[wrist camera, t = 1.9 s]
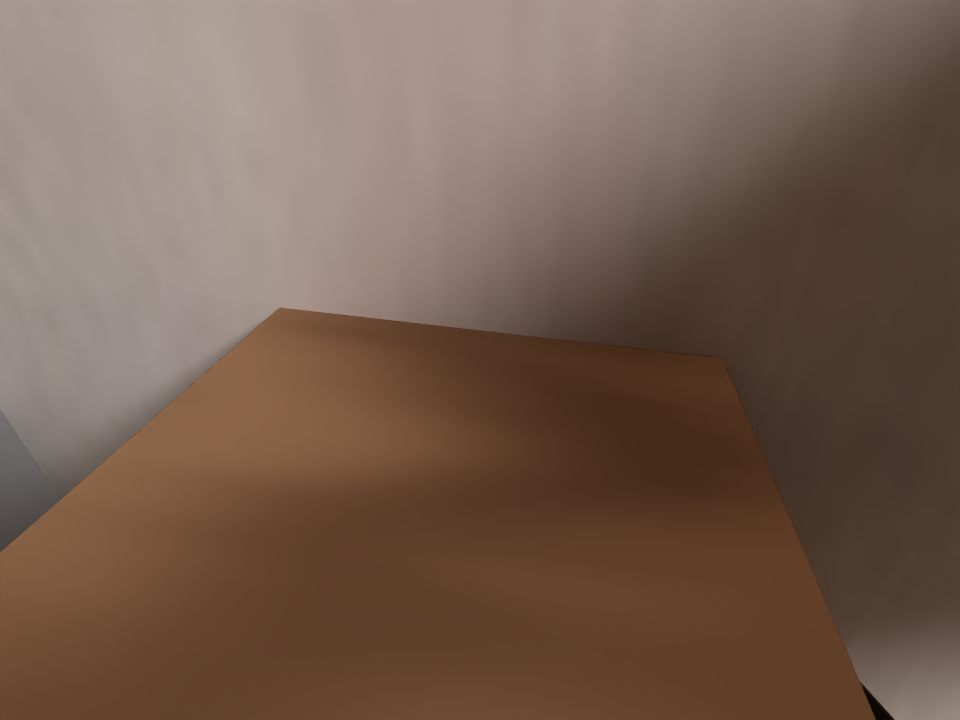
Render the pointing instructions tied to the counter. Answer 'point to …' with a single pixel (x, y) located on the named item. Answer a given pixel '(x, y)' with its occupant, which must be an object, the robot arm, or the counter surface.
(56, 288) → the counter surface
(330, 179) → the counter surface
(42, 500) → the slate block
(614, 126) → the counter surface
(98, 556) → the walnut block
